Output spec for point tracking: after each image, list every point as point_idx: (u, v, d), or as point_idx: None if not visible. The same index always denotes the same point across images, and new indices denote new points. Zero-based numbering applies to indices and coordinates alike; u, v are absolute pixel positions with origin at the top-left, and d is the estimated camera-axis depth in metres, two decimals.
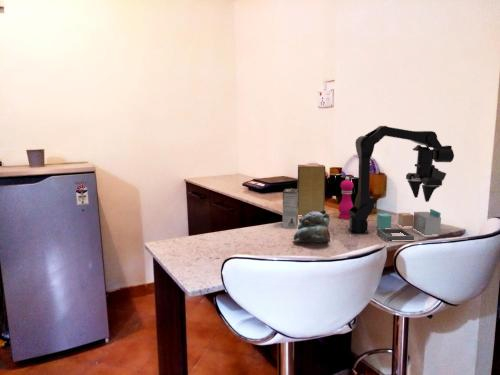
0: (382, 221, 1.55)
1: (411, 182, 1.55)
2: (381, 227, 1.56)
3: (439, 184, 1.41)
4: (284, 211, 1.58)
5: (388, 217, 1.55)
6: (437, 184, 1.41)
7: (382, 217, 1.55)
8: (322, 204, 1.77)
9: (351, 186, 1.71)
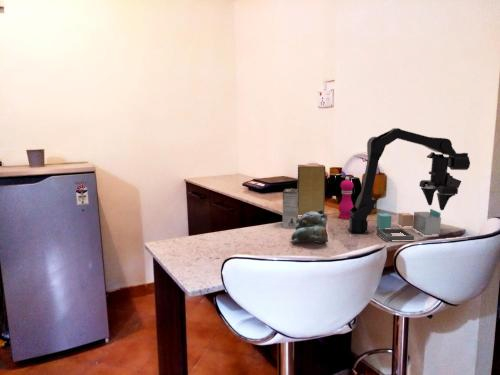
0: (382, 221, 1.55)
1: (425, 190, 1.52)
2: (381, 227, 1.56)
3: (455, 192, 1.38)
4: (284, 211, 1.58)
5: (388, 217, 1.55)
6: (453, 192, 1.38)
7: (382, 217, 1.55)
8: (322, 204, 1.77)
9: (351, 186, 1.71)
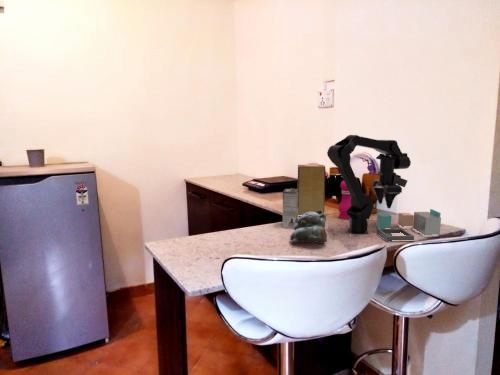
0: (382, 221, 1.55)
1: (375, 189, 1.60)
2: (381, 227, 1.56)
3: (399, 191, 1.46)
4: (284, 211, 1.58)
5: (388, 217, 1.55)
6: (397, 191, 1.46)
7: (382, 217, 1.55)
8: (322, 204, 1.77)
9: None
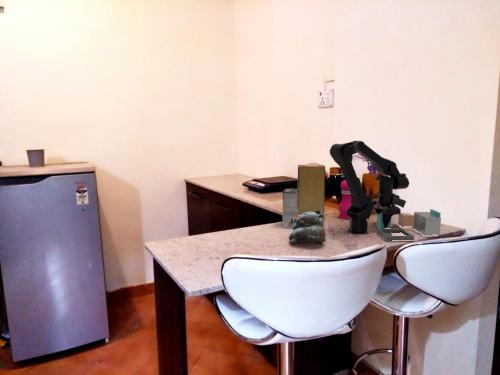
0: (382, 221, 1.55)
1: (376, 210, 1.60)
2: (381, 227, 1.56)
3: (397, 213, 1.47)
4: (284, 211, 1.58)
5: None
6: (395, 213, 1.47)
7: None
8: (322, 204, 1.77)
9: None
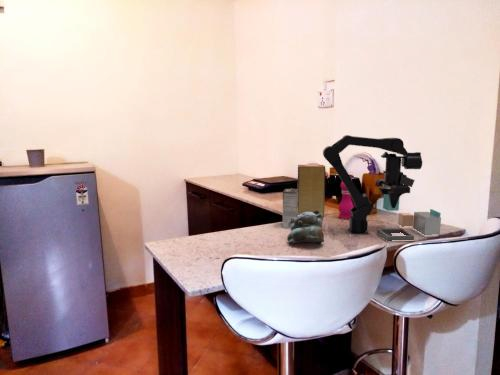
0: None
1: (383, 190, 1.51)
2: (389, 208, 1.47)
3: (407, 191, 1.39)
4: (284, 211, 1.58)
5: None
6: (405, 192, 1.39)
7: None
8: (322, 204, 1.77)
9: None
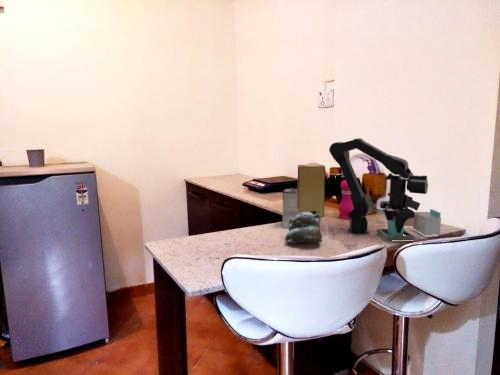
0: (394, 229, 1.41)
1: (386, 212, 1.46)
2: (393, 235, 1.42)
3: (411, 216, 1.33)
4: (284, 211, 1.58)
5: None
6: (409, 216, 1.33)
7: (394, 224, 1.41)
8: (322, 204, 1.77)
9: None
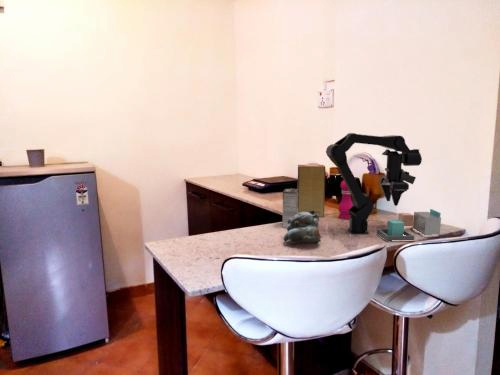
0: (394, 229, 1.41)
1: (383, 186, 1.56)
2: (393, 235, 1.42)
3: (405, 188, 1.42)
4: (284, 211, 1.58)
5: (400, 224, 1.41)
6: (403, 188, 1.42)
7: (394, 224, 1.41)
8: (322, 204, 1.77)
9: None
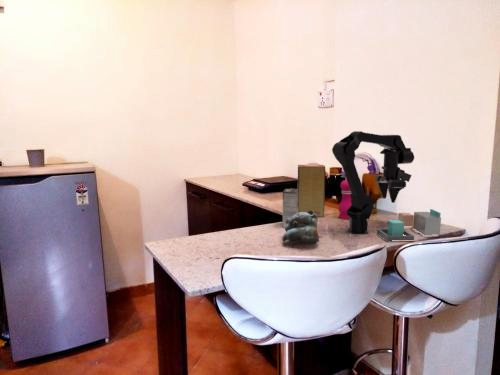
0: (394, 229, 1.41)
1: (379, 184, 1.61)
2: (393, 235, 1.42)
3: (403, 186, 1.47)
4: (284, 211, 1.58)
5: (400, 224, 1.41)
6: (401, 186, 1.47)
7: (394, 224, 1.41)
8: (322, 204, 1.77)
9: None
